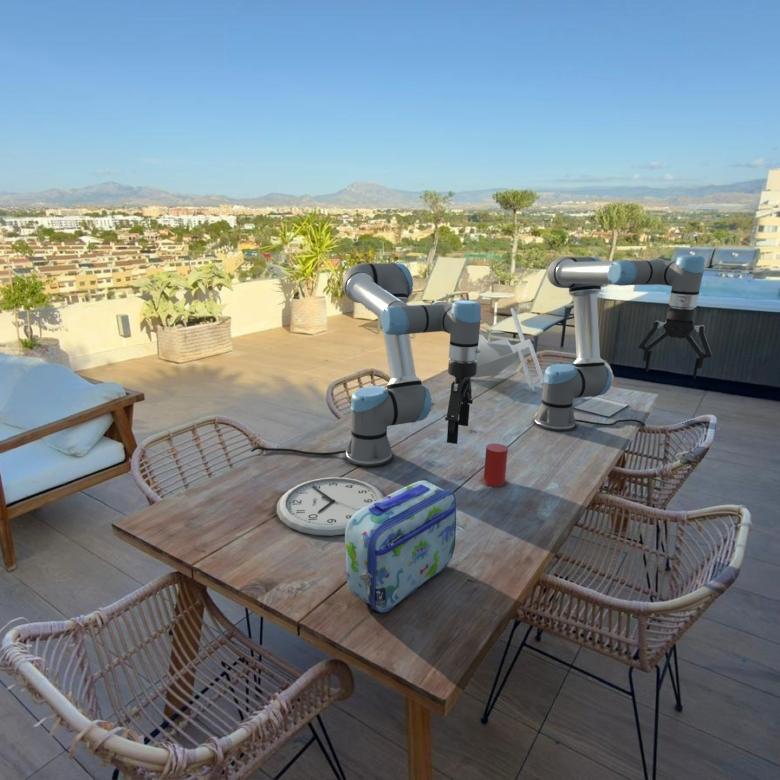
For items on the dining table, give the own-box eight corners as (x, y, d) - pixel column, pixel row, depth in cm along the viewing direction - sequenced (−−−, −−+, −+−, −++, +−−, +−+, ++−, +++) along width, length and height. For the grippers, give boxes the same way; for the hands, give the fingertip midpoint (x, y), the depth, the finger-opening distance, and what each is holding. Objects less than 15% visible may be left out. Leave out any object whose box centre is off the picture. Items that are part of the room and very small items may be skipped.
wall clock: (392, 527, 129) (268, 531, 127) (391, 533, 130) (269, 537, 127) (383, 473, 158) (282, 475, 155) (383, 478, 158) (282, 480, 156)
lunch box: (374, 626, 100) (375, 530, 93) (338, 598, 107) (337, 508, 101) (459, 568, 117) (465, 484, 111) (424, 547, 124) (427, 467, 118)
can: (479, 481, 158) (482, 447, 154) (491, 475, 162) (493, 441, 159) (497, 488, 154) (500, 453, 150) (508, 481, 158) (511, 447, 155)
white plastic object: (480, 420, 263) (459, 397, 239) (461, 347, 286) (440, 319, 261) (551, 396, 251) (537, 369, 226) (526, 322, 273) (511, 290, 249)
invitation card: (608, 416, 214) (573, 407, 224) (608, 416, 214) (573, 408, 224) (628, 404, 229) (594, 396, 238) (628, 405, 229) (594, 397, 238)
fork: (417, 411, 216) (418, 406, 216) (428, 400, 231) (428, 395, 230) (423, 412, 215) (424, 407, 215) (434, 400, 230) (434, 396, 229)
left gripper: (466, 373, 127) (461, 453, 133) (485, 351, 149) (479, 420, 156) (436, 370, 129) (432, 448, 136) (459, 348, 151) (455, 416, 158)
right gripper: (636, 305, 163) (625, 370, 170) (729, 313, 150) (714, 383, 157) (640, 302, 169) (630, 365, 176) (730, 310, 156) (716, 378, 163)
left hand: (457, 433), depth 146 cm, fingers open, 13 cm apart
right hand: (669, 374), depth 166 cm, fingers open, 13 cm apart
